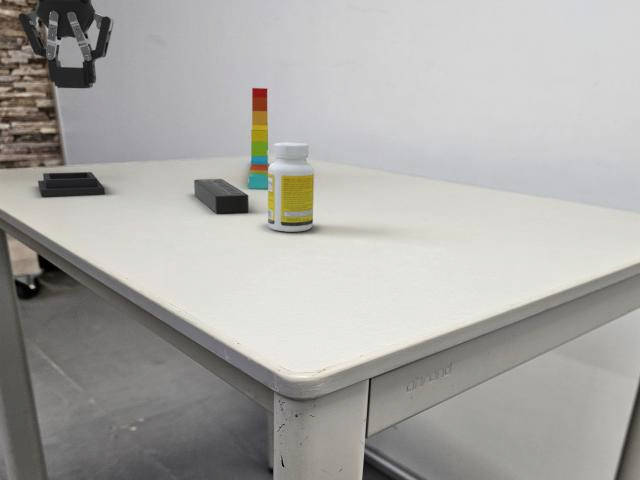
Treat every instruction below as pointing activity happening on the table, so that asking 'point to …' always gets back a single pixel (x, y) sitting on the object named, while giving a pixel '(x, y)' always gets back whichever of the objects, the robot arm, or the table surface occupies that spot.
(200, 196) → the multiport hub
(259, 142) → the chart
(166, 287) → the table surface
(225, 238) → the table surface
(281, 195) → the supplement bottle
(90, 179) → the base pad
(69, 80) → the small pad
